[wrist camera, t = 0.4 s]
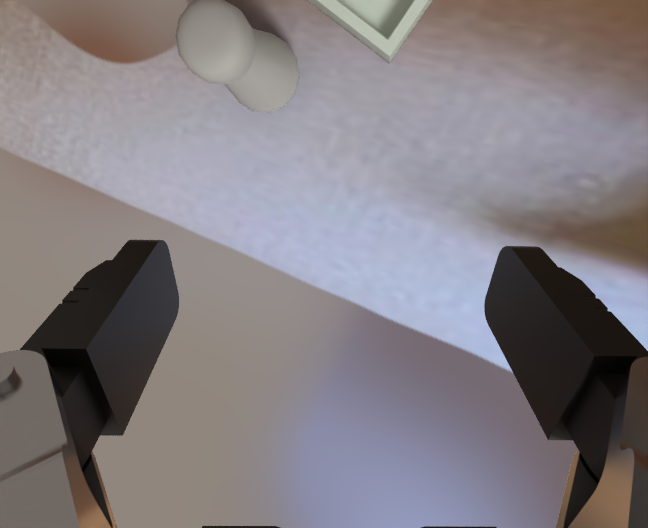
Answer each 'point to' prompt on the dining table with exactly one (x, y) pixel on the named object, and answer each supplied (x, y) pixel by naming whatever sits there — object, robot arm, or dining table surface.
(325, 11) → the tray
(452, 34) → the dining table surface
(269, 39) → the salt shaker
